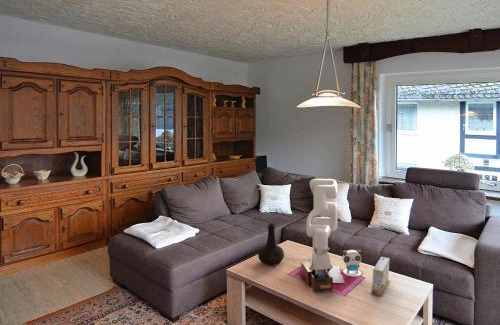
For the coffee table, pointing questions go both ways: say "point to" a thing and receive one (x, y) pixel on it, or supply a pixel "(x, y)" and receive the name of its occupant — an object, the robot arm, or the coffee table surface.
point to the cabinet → (307, 272)
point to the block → (321, 274)
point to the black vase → (271, 249)
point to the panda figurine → (352, 262)
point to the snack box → (380, 276)
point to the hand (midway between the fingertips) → (320, 279)
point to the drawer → (321, 283)
